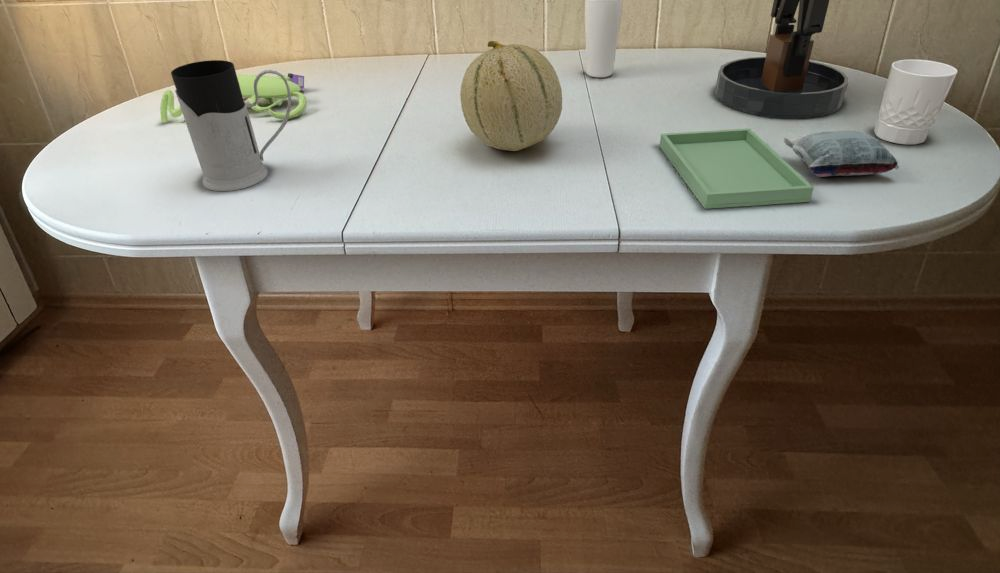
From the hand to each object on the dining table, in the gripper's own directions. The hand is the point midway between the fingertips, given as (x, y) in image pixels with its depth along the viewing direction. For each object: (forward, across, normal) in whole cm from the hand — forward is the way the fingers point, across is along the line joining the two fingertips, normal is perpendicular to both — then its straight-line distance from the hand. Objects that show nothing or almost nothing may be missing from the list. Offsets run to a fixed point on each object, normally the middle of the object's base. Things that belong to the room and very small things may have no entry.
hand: (784, 70), depth 104 cm
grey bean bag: (+5, +28, -5) cm, 29 cm away
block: (+3, 0, 0) cm, 3 cm away
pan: (+5, 0, 0) cm, 5 cm away
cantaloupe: (+5, +14, -47) cm, 49 cm away
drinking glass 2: (+4, -18, -27) cm, 33 cm away
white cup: (+5, +19, +10) cm, 22 cm away
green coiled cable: (+4, -12, -94) cm, 95 cm away
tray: (+5, +27, -19) cm, 33 cm away
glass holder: (+4, +18, -84) cm, 86 cm away
